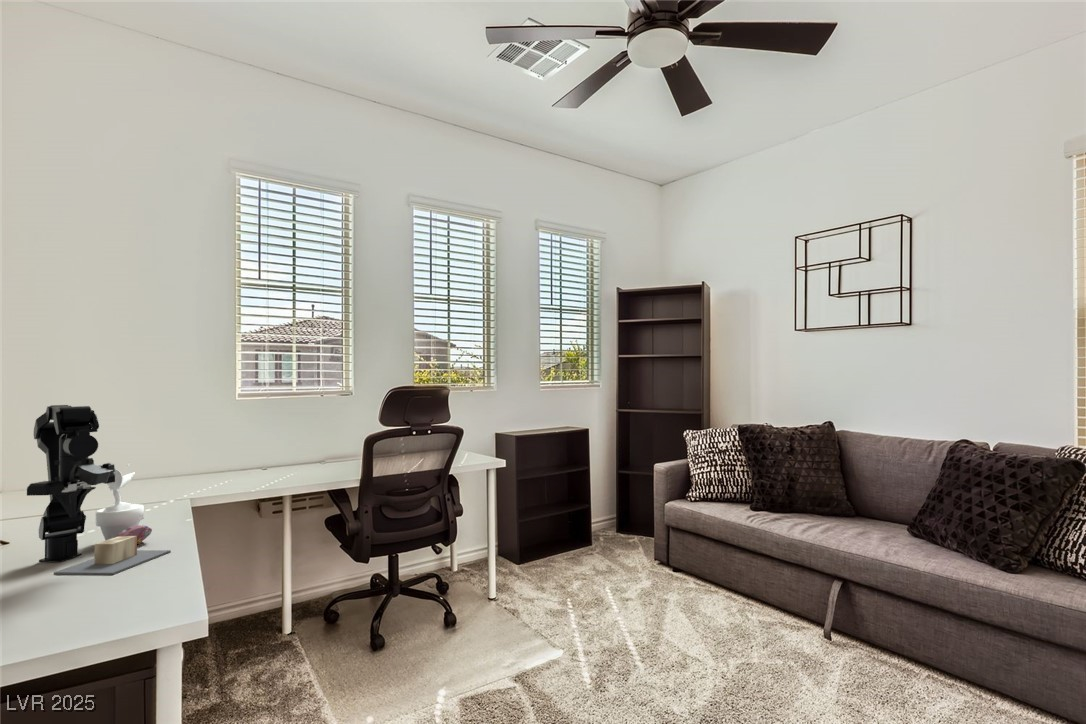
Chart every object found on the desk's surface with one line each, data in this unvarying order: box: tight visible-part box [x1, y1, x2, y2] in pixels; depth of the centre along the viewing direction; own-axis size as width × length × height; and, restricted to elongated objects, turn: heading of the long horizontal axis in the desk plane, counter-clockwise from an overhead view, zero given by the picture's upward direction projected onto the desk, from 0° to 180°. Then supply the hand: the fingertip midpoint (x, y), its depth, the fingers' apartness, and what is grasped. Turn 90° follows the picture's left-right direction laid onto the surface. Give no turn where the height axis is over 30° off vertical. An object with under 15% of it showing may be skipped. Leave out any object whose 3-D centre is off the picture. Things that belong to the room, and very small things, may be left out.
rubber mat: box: [53, 549, 171, 576], centre depth 143 cm, size 16×18×1 cm
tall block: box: [94, 536, 138, 564], centre depth 144 cm, size 5×5×8 cm
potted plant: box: [95, 461, 145, 541], centre depth 165 cm, size 13×12×25 cm
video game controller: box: [116, 524, 153, 545], centre depth 158 cm, size 10×5×7 cm, turn 167°
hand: (73, 517), depth 139 cm, fingers closed
